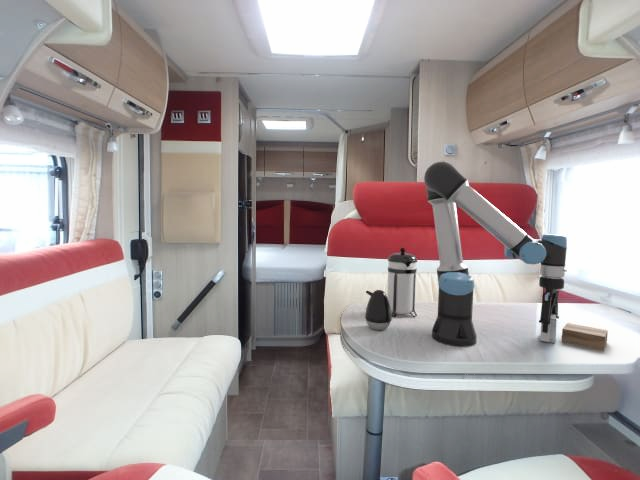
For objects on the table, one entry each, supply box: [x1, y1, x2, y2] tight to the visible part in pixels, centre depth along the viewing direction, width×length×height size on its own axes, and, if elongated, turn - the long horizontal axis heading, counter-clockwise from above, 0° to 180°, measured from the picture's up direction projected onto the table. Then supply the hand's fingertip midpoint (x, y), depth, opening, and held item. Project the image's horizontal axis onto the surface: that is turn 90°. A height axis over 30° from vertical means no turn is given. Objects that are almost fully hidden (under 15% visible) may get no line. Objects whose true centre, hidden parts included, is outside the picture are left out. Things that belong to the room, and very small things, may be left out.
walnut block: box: [561, 322, 609, 352], centre depth 127 cm, size 10×12×5 cm
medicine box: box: [545, 314, 557, 344], centre depth 130 cm, size 8×4×9 cm, turn 148°
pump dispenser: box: [364, 289, 393, 331], centre depth 139 cm, size 10×10×15 cm
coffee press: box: [387, 247, 418, 318], centre depth 160 cm, size 17×16×30 cm
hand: (547, 337), depth 130 cm, fingers closed on medicine box, 8 cm apart
